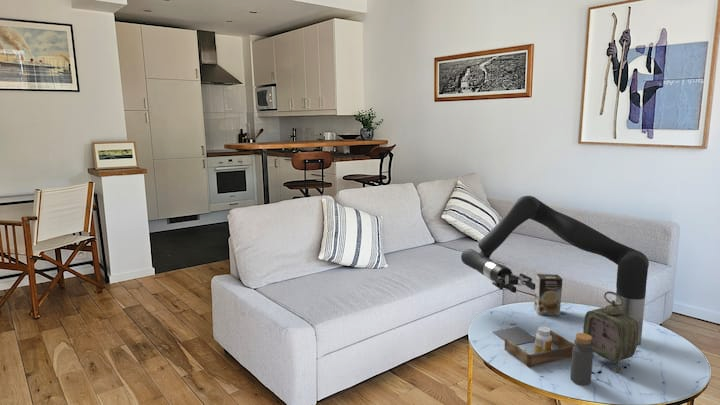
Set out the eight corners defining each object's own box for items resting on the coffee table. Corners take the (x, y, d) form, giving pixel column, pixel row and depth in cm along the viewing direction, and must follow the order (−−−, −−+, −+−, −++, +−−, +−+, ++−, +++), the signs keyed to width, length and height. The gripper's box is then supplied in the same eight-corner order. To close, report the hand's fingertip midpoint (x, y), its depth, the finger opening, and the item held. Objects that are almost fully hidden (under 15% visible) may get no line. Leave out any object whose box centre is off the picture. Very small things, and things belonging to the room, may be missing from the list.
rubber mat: (492, 332, 180) (492, 331, 180) (518, 327, 184) (518, 326, 184) (512, 346, 169) (512, 345, 169) (538, 340, 173) (539, 339, 173)
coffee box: (537, 315, 194) (539, 278, 191) (533, 309, 200) (535, 273, 198) (560, 315, 193) (562, 279, 190) (555, 309, 200) (557, 274, 197)
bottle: (566, 375, 149) (569, 332, 146) (584, 374, 150) (587, 331, 147) (576, 386, 143) (579, 341, 141) (594, 385, 144) (598, 340, 141)
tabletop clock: (581, 355, 161) (586, 287, 157) (599, 350, 165) (605, 283, 160) (618, 376, 148) (625, 302, 144) (638, 369, 152) (645, 297, 147)
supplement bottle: (550, 352, 164) (552, 326, 162) (551, 359, 159) (553, 333, 157) (534, 350, 166) (535, 324, 164) (534, 357, 161) (536, 331, 159)
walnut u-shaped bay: (504, 349, 166) (504, 339, 166) (549, 339, 173) (550, 329, 172) (528, 367, 154) (529, 356, 154) (576, 356, 161) (577, 345, 160)
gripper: (482, 265, 179) (510, 281, 165) (512, 262, 184) (542, 276, 170) (481, 284, 181) (508, 301, 166) (511, 279, 186) (539, 295, 171)
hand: (525, 288), depth 168 cm, fingers open, 8 cm apart
